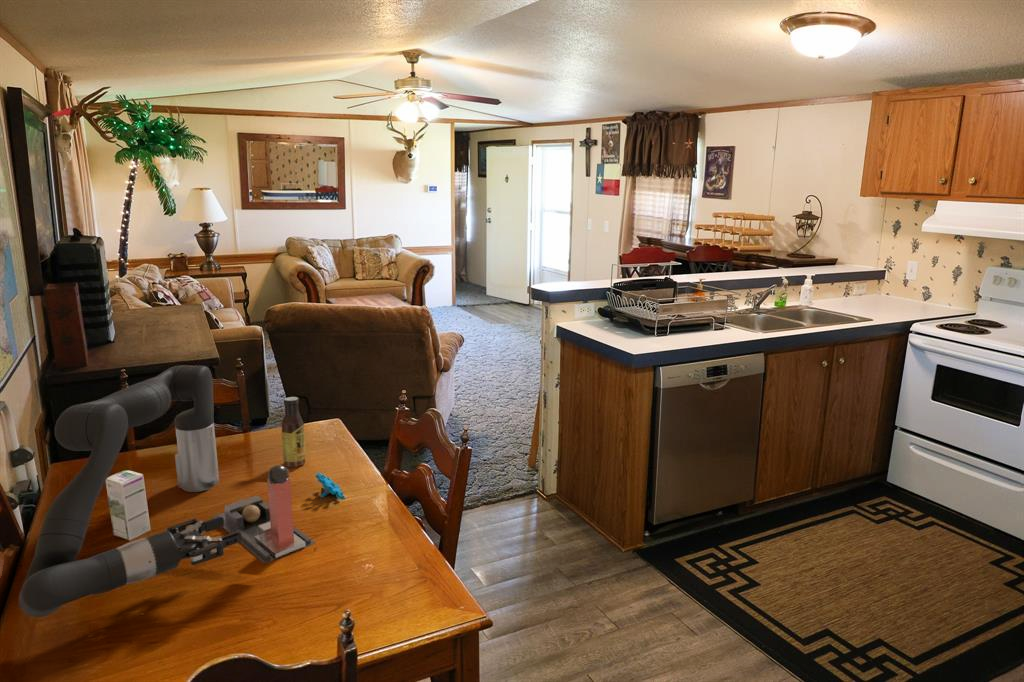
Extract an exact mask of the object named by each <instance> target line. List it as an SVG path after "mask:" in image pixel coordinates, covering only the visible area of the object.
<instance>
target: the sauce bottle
mask: <svg viewBox="0 0 1024 682" xmlns="http://www.w3.org/2000/svg"><path fill="white" fill-rule="evenodd" d="M299 400H300V399H299V397H297V396H289V397H284V398H283V405H284V416H283V417H282V419H281V444H282V460H283V466H285V467H286V468H298V467H301V466H303V465H305V463H306V439H305V436H306V435H305V424H304V421H303V418H302V416H301V413H300V410H299V402H300V401H299Z"/></svg>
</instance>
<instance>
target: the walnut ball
mask: <svg viewBox="0 0 1024 682" xmlns="http://www.w3.org/2000/svg"><path fill="white" fill-rule="evenodd" d="M242 516H243V519H244V520H245V521H246V522H255V521H256V520H257V519H258V518H259V516H260V510H259V508H258V507H257V506H255V505H249V506H247V507H246V508H245V509H244V510H243V512H242Z"/></svg>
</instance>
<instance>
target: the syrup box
mask: <svg viewBox="0 0 1024 682" xmlns="http://www.w3.org/2000/svg"><path fill="white" fill-rule="evenodd" d="M105 485H106V492H107V493H106V494H107V500H108V505H109V506H108V507H109V513H110V519H111V526H112V527H111V528H112V534H113V536H115V537H118V538H121V539H123V540H127V541H133V539H134V540H135V539H136V538H138V537H141V536H143V535H144V534H146V533H148V532H150V531H151V522H150V517H149V508H148V500H147V494H146V487H145V478H144V474H143V473H140V472H136V471H133V470H129V469H126V470H121V471H119V472H116V473H115V474H112V475H110V476H108V477H107V479H106V481H105Z"/></svg>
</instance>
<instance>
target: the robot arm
mask: <svg viewBox="0 0 1024 682" xmlns="http://www.w3.org/2000/svg"><path fill="white" fill-rule="evenodd" d="M213 382H214V381H213V375H212V372H211V370H210V368H209V367H208V366H205V365H174V366H172V367H169V368H167V369H166V370H164V371H163V372H161V373H159V374H158V375H156V376H154V377H151V378H147V379H146V380H143V381H142V380H141V381H140V382H137V383H134V384H132V385H130V386H127V387H125V388H123V389H119V390H118V391H115V392H113V393H111V394H109V395H107V396H105V397H101V398H100V399H97V400H96V399H95V400H93V401H89V402H84V403H80V404H74V405H72V406H69V407H68V408H65V410H64V411H62V412H61V414H60V415H59V417H58V418H57V419H56V423H55V426H54V436H55V440H56V441H57V443H58V444H59V445H60V446H62V448H64V449H67V450H70V451H73V452H75V451H76V452H81V451H82V452H86V451H87V452H89V451H91V452H90V455H89V456H88V459H87V460H86V462H85V464H84V466H83V467H81V469H80V470H79V472H78V473H77V475H76V476H74V478H73V479H72V480H71V481H70V482H69V483H68V484H67V485H66V486H65V487H64V488H63V489H62V490H61V492H60V493H59V494H58V495H56V497H55V499H54V500H53V501H52V503H51V504H50V506H49V507H48V509H47V512H46V513H45V516H44V519H43V522H42V524H41V525H42V526H41V529H40V531H39V535H38V537H37V541H36V546H35V549H34V550H35V552H34V556H33V558H32V560H31V561H32V562H31V563H30V565H29V568H28V571H27V574H26V576H25V579H24V582H23V584H22V586H21V590H20V592H19V595H18V605H19V607H20V610H22V612H23V613H24V614H25V615H27V616H29V617H32V618H44V617H47V616H48V617H49V616H50V615H52V614H54V613H56V612H57V611H58V610H59V609H60V608H61V607H62V606H64V605H66V604H69V603H72V602H74V601H77V600H79V599H83V598H85V597H87V596H90V595H92V596H94V595H95V596H97V595H101V594H105V593H107V592H109V591H110V592H111V591H113V590H115V589H116V590H117V589H118V588H121V587H123V586H127V585H131V584H134V583H135V584H136V583H139V582H142V581H144V580H146V579H150V578H153V577H156V576H159V575H161V574H163V573H167V572H169V571H171V570H174V569H176V568H178V567H179V564H180V561H182V560H185V559H190V563H191V566H196V565H200V564H202V563H205V562H208V561H211V560H213V559H217V558H220V557H222V556H224V555H225V554H224V553H225V552H224V549H225V548H228V547H230V546H233V545H236V544H238V543H240V541H241V533H240V532H239V531H236V532H233V533H227V534H225V535H222V536H220V537H211V536H210V535H203V534H204V533H210V532H211V531H215V530H218V529H221V528H223V526H224V519H223V517H221V516H220V517H217V518H214V519H213V518H211V519H208V520H205V521H203V520H199V521H198V519H197V518H192V519H190V520H189V519H188V520H186V521H183V522H181V523H178V524H175V525H172V526H169V527H167V528H166V530H163V531H160V532H157V533H155V534H151V535H148V536H145V537H142V538H140V539H136V540H131V541H130V542H127V543H125V544H123V545H121V546H118V547H116V548H112V549H110V550H106V551H103V552H100V553H98V554H95V555H93V556H91V557H88V558H84V559H77V557H78V556H79V553H80V552H81V549H82V547H83V545H84V540H85V537H86V535H87V530H88V527H89V523H90V521H91V516H92V514H93V510H94V507H95V505H96V503H97V500H98V498H99V495H100V493H101V491H102V489H103V487H104V484H106V479H107V478H108V477H109V475H110V474H111V473H110V472H111V471H112V468H113V467H114V464H115V462H116V460H117V457H118V456H119V454H120V451H121V449H122V447H123V444H124V442H125V440H126V437H127V432H128V429H129V428H134V427H140V426H143V425H145V424H149V423H151V422H154V421H155V420H156V419H158V418H160V417H163V415H165V414H166V413H167V411H168V410H169V409H170V407H171V404H172V402H193V408H190V409H187V410H184V411H182V412H179V413H178V414H176V416H175V417H174V427H175V436H176V444H177V446H176V447H177V452H176V453H175V455H174V460H175V471H176V478H177V487H178V488H179V489H182V490H183V491H185V492H189V493H199V492H205V491H207V490H211V489H212V488H213V487H215V486H216V485H217V484H219V483H220V478H219V477H220V476H219V463H218V456H217V455H218V453H217V443H216V435H215V434H216V432H215V423H214V420H215V419H214V412H215V411H214V410H215V408H214V407H215V406H214V405H215V404H214V385H213V384H214V383H213ZM76 559H77V560H76Z"/></svg>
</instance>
